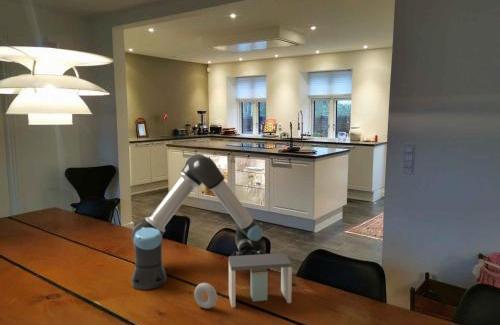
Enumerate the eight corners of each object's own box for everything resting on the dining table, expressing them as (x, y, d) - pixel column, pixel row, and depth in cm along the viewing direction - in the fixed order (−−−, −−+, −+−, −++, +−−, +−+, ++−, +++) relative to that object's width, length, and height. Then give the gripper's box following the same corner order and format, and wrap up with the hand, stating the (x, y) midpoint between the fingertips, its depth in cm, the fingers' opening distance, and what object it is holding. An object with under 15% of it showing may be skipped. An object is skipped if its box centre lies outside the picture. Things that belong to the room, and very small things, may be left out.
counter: (231, 307, 140) (231, 267, 138) (228, 294, 151) (228, 256, 149) (291, 302, 144) (292, 263, 142) (284, 289, 155) (284, 253, 153)
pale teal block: (252, 301, 145) (252, 272, 143) (249, 294, 151) (249, 266, 150) (267, 300, 146) (268, 271, 144) (264, 292, 152) (265, 265, 151)
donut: (218, 308, 139) (218, 284, 138) (214, 313, 136) (213, 287, 135) (197, 302, 144) (197, 278, 143) (192, 306, 141) (192, 282, 140)
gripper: (270, 254, 184) (279, 272, 163) (221, 257, 180) (225, 275, 159) (270, 240, 183) (280, 256, 163) (221, 242, 179) (225, 259, 159)
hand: (252, 265), depth 161 cm, fingers open, 13 cm apart
